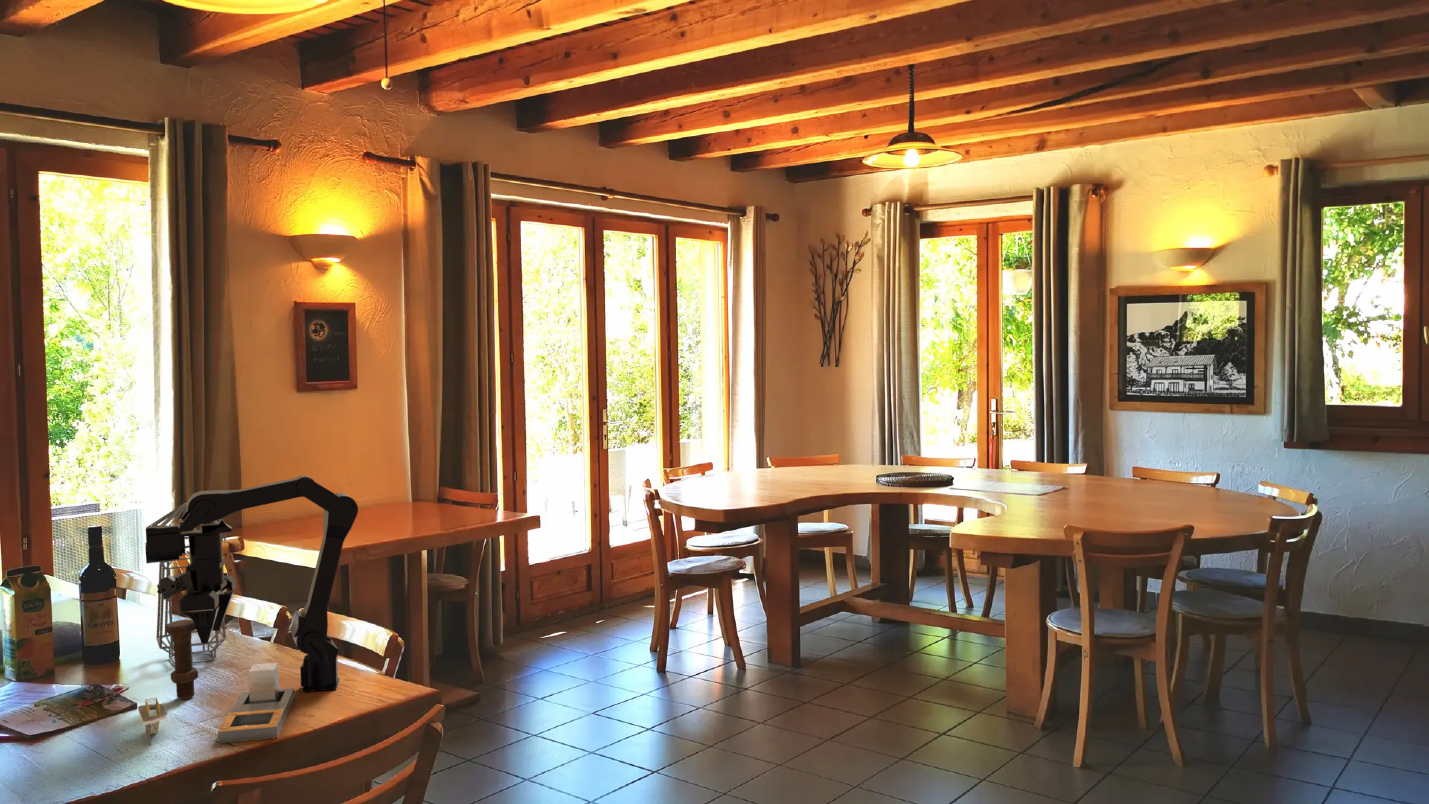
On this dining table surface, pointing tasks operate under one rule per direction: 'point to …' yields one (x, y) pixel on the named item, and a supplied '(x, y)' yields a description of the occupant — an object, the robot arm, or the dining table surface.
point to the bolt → (183, 657)
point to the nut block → (263, 683)
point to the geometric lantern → (161, 564)
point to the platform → (151, 720)
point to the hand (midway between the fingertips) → (210, 636)
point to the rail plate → (255, 718)
